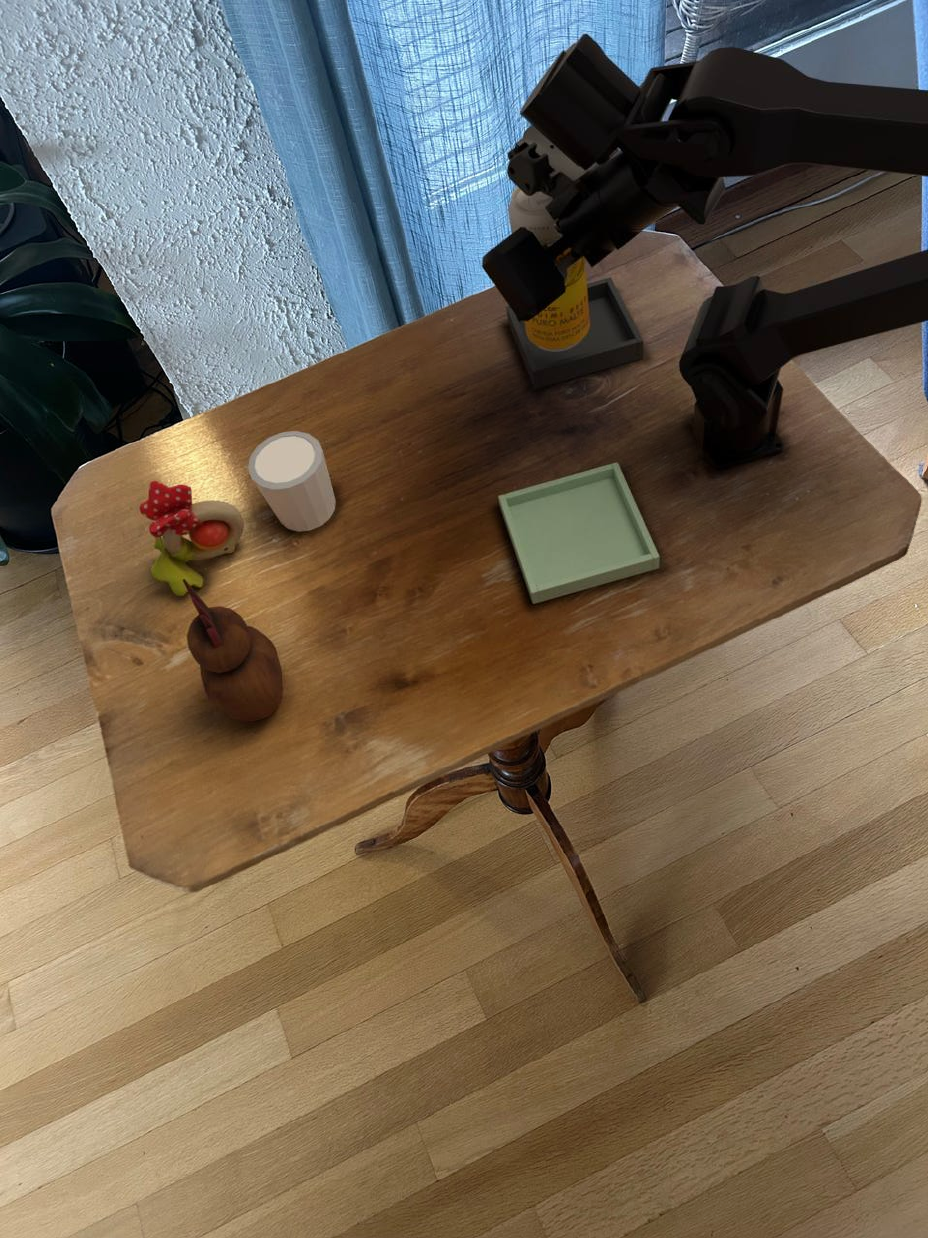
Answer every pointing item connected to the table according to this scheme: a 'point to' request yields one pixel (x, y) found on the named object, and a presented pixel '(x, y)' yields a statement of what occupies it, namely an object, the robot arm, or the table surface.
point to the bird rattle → (188, 532)
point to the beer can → (570, 311)
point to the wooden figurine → (234, 662)
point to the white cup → (294, 479)
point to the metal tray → (584, 340)
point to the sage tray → (577, 533)
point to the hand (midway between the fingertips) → (540, 260)
